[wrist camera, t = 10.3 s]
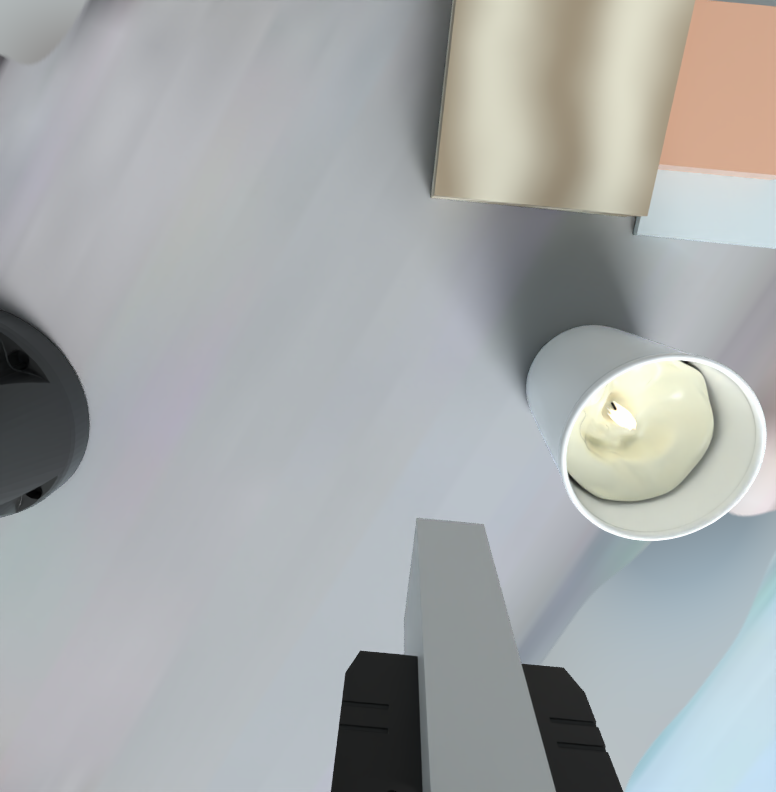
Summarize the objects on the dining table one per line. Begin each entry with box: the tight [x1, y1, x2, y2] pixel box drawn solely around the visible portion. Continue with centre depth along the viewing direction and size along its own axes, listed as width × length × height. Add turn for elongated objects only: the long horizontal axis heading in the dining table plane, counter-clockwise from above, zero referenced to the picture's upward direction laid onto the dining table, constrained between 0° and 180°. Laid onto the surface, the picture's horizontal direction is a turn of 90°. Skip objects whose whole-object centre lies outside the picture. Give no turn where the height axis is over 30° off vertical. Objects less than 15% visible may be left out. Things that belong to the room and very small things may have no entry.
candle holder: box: [526, 325, 766, 541], centre depth 33 cm, size 10×10×12 cm
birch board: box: [431, 0, 695, 217], centre depth 31 cm, size 12×14×4 cm
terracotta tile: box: [658, 0, 776, 180], centre depth 32 cm, size 8×8×2 cm
